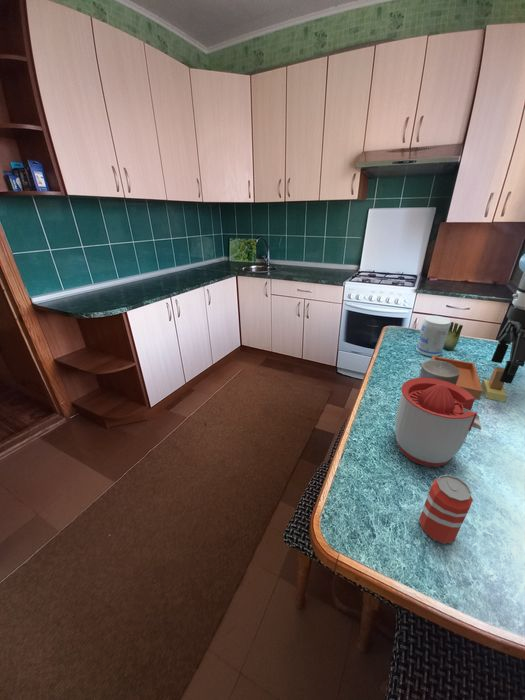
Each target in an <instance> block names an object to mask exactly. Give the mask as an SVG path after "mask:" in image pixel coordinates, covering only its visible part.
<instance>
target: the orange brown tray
mask: <svg viewBox="0 0 525 700" xmlns="http://www.w3.org/2000/svg"><path fill="white" fill-rule="evenodd" d="M431 360H439V361H444V362H447V363H450V364H452V365H454V366H456V367H457V368H458V369H459V371H460V374H459V377H458V380H457V383H456V385H457V386H459V387H461V388H463V389H464V390H466V391H467V392H469V393H470V394H471V395H472V396H473V397H474V398H475V400H481V397H482V395H483V389H482V386H481V385H482V383H481V380H480V377H479V374H478V371H477V367H476V364H475V362H469V361H464V360H458V359H452V358H447V357H442V356H431Z"/></svg>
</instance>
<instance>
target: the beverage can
mask: <svg viewBox="0 0 525 700" xmlns="http://www.w3.org/2000/svg"><path fill="white" fill-rule="evenodd" d="M472 493H473V492H472V490H471V488H470V487H469V485H468V484H467V483H466V482H464V481H463V480H462V479H461V478H459V477H457V476H454V475H451V474H443V475H439V477H438V478H435V479H434V480H433V482H432V484H431V486H430V488H429V491H428V494H427V496H426V498H425V502H424V505H423V508H422V511H421V512H420V516H419V519H418V520H419V523H420V527H421V530H422V531H424V533H426V535H428V537H430V539H432V540H434V541H437V542H439V543H441V544H449V543H454V542H455V540H456V538H457V535H458V534H459V532H460V530H461V527H462V525H463V524H464V522H465V519H466V517H467V515H468V513H469V511H470V508H471V506H472V503H473V497H472Z"/></svg>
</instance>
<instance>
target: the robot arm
mask: <svg viewBox="0 0 525 700" xmlns="http://www.w3.org/2000/svg"><path fill="white" fill-rule="evenodd" d="M518 267H519V269H520V270H521V272H523V273H522V276H521V279H520V281H519V284H518V286H517V289H516V292H515V293H513V294H512V298H513V299H512V302H511V303H512V305H510V306H509V308H508V311H507V313H506V318H507V321H506V322H505V324H504V327H503V328H502V330H501V331H500V332H499V334H498V336H497V340H498V341H497V345H496V347H495V350H494V353H493V355H492V357H491V360H490V362H492V363H498V364H502V363H503V361H504V359H505V357H506V354H507V351H508V349H509V346H510V345H511V346H510V347H511V348H510V354H509V355H510V356H509V360H506V361H505V366H504V367H503V368H504V371H503V373H502V375H501V378H500V380H499V381H500V382H504V384H508V385H509V384H510V385H511V384H512V383H513V380H514V379H515V376H516V374H517V372H518V370H519V367H524V366H525V253H524V254H523V255H521V257H520V259H519V262H518Z"/></svg>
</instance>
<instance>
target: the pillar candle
mask: <svg viewBox="0 0 525 700" xmlns="http://www.w3.org/2000/svg"><path fill="white" fill-rule="evenodd" d="M459 374H460V371H459V369H458V368H457V367H456V366H454V365H452V364H450V363H447V362H444V361H439V360H432V359H428V360H424V361H423V362H422V363H421V368H420V372H419V376H418V378H433V379H439V380H443V381H446V382H449V383H452V384H454V385H456V383H457V380H458V377H459Z"/></svg>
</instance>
